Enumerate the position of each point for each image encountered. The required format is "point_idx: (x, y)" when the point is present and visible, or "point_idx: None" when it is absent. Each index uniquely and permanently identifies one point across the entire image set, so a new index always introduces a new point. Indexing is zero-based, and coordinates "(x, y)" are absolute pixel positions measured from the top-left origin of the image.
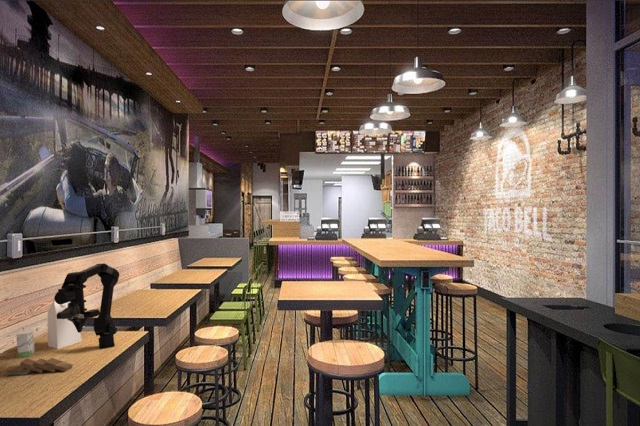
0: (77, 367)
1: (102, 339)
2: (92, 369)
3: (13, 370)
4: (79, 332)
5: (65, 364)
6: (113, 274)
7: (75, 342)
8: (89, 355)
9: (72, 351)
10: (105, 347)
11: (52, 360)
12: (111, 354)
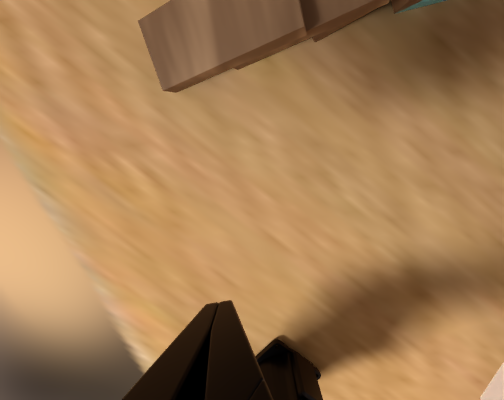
0: (148, 105)
1: (282, 396)
2: (19, 96)
3: None
4: (210, 303)
5: (179, 51)
6: None
7: (499, 381)
8: (255, 262)
9: (413, 291)
10: (261, 354)
11: (268, 4)
12: (142, 292)
